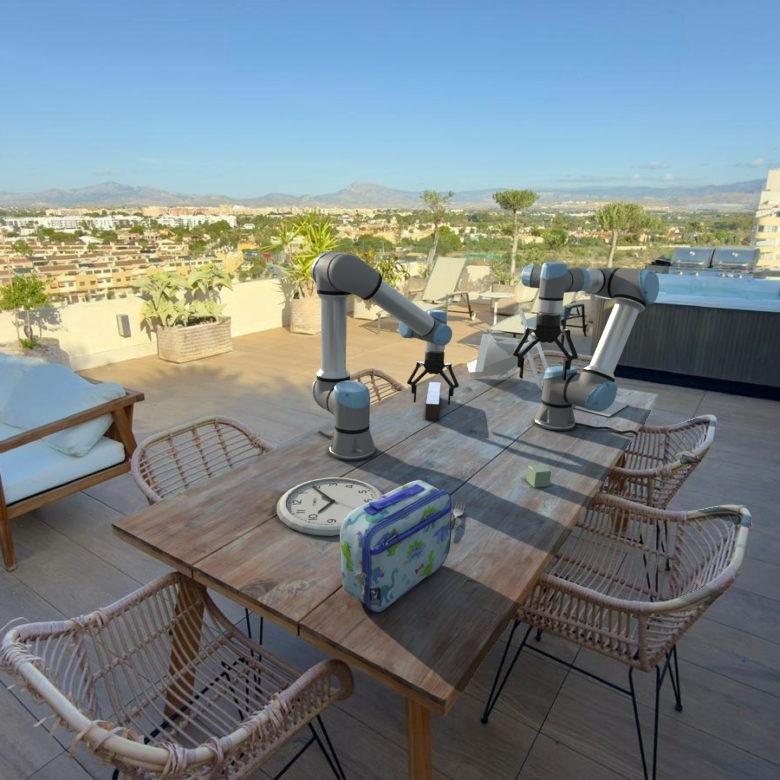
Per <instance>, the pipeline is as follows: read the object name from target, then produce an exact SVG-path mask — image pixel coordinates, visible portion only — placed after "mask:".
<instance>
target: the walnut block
mask: <svg viewBox="0 0 780 780" xmlns="http://www.w3.org/2000/svg"><path fill="white" fill-rule="evenodd" d="M441 385H442V383H441V382H434V381H429V382H428V389H427V395H426V400H425V415H424V417H425V418H424V419H425V420H424V421H429V422H430V421H432V422H439V413H440V401H441Z"/></svg>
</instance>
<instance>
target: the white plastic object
mask: <svg viewBox="0 0 780 780" xmlns="http://www.w3.org/2000/svg"><path fill="white" fill-rule="evenodd" d="M517 310H518V314H519V316H520V319H521V322H522V325H523V328H524V329H525V328H526V327H528V328H530V327H529V325H528V324H529V323H528V321H527V318H526V316H525V312H524V311H523V309H522V307H521V306H520V307H518V308H517ZM532 339H533V336H532V334H531V335H529V336H528V338H527V342H525V343H524V344H523V346H522V347H521V349H520V351H521V350H522V349H523V348H524V347H526V346H527V345H528V344H529V343H530V342H531V341H532ZM518 342H519V341H517V338H516V337H512V338H507V339H503V340H499V341H497V340H496V339H495V338H494V336H492V334H491V333H482V334H481V339H480V344H479V349H478V353H477V356H476V357H477V358H476V359H475V360H473V361H471V362H468V363H467V364H466V366H467V369H468V373H469V375H470V376H471V377H472V379H476V378H485V377H492V376H493V377H494V376H498V377H502V376H506V375H508V374H509V371H511V370H513V368H515V367H517V359H518V357H516V356H513V354H512V352H513V350H514V349H515V347H516V345H517V344H518ZM520 351H519V352H520ZM519 352H518V353H519ZM537 353H538V354H539V357H540V360H541V363H542V367H543V369H544V372H545V371H546V369H547V368H549V365H548V361H547V359H546V356H545V352H544V350H543V348H542V345H541V342H540V341H539V342H538V343H537V344H535V345H534V346H533V347H532V348H531V349H530V350H529V351H528V352H527V353H526V354H525V355H524V356H523V357H524V361H525V360H527V359H528V363H529V366H530V368H531V372H532V375H533V378H534V381H535V384H536V386H537V387H538V388H539V390H540V391H543V384H542V382H541V379H540V376H539V372H538V370H537V366H536V364H535V361H534V358H533V355H535V354H537Z"/></svg>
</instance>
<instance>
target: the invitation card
mask: <svg viewBox="0 0 780 780" xmlns="http://www.w3.org/2000/svg"><path fill="white" fill-rule="evenodd" d="M628 406H629V404H627V403H623V402H618V401H614V402H613V403H612V405H611V406H610V407H609V408H608V409H606V410H604V411H601V412H597V411H593V410H588V409H586V408H583V407H580V406H576V405H575V406H574V407H573V409H575V410H581V411H584V412H587V413H593V414H596V415H600V416H604V417H608V418H609V417H611V416H613V415H614V414H616V413H617V412H619V411H621V410H623V409H624V408H626V407H628Z"/></svg>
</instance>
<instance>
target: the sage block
mask: <svg viewBox="0 0 780 780" xmlns="http://www.w3.org/2000/svg"><path fill="white" fill-rule="evenodd" d="M551 474H552V470H551V469H550V468H548V467H547V466H546V465H545V464H544V463H538V464H528V465H527V471H526V481H527V482H528V483H529V485H531V487H532V488H535V489H536V488H543V487H545V488H546V487H550V484H551V476H552V475H551Z"/></svg>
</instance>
